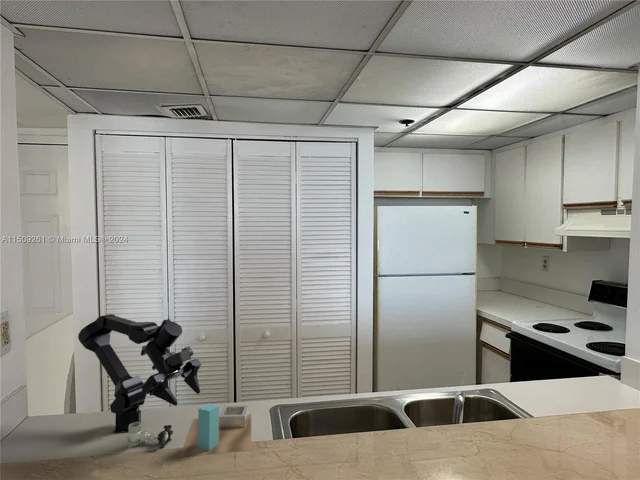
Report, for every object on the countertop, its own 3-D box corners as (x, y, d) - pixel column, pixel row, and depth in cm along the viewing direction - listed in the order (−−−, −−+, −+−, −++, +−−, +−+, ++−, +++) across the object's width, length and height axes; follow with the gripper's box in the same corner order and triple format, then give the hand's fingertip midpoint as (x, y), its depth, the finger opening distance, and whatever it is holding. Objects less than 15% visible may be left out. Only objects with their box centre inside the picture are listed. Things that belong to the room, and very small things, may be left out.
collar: (218, 427, 115) (218, 416, 115) (224, 416, 124) (224, 405, 124) (244, 427, 116) (244, 416, 116) (248, 415, 124) (248, 405, 124)
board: (179, 461, 99) (179, 457, 99) (193, 422, 121) (193, 419, 122) (251, 454, 102) (251, 449, 102) (251, 417, 125) (251, 414, 125)
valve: (121, 453, 104) (161, 455, 102) (121, 429, 104) (161, 431, 103) (134, 441, 110) (172, 442, 109) (135, 419, 110) (173, 420, 109)
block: (198, 447, 104) (198, 408, 104) (207, 441, 107) (208, 403, 108) (209, 450, 102) (209, 411, 102) (218, 444, 106) (218, 405, 106)
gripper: (149, 347, 102) (178, 393, 98) (197, 333, 119) (224, 372, 115) (129, 372, 105) (157, 417, 100) (178, 355, 122) (204, 393, 118)
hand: (188, 398), depth 108 cm, fingers open, 9 cm apart
